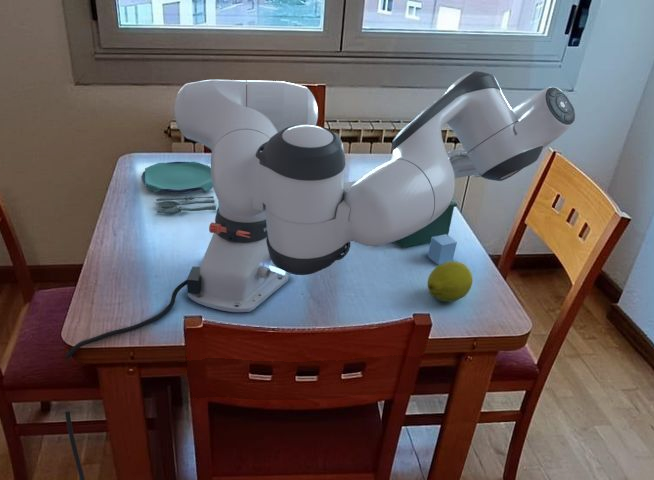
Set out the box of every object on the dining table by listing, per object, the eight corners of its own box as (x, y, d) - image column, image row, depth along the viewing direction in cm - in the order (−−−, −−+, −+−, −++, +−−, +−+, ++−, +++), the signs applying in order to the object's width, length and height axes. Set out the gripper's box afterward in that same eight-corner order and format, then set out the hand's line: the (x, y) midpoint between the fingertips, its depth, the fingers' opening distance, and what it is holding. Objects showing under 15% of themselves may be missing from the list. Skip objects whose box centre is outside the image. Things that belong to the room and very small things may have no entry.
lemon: (453, 283, 131) (461, 250, 126) (478, 302, 125) (487, 268, 120) (412, 294, 126) (418, 260, 122) (435, 314, 121) (443, 280, 116)
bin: (447, 239, 147) (454, 205, 142) (402, 248, 142) (408, 213, 137) (404, 206, 160) (409, 174, 155) (362, 214, 156) (366, 181, 151)
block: (452, 261, 138) (457, 242, 135) (438, 265, 137) (442, 245, 134) (442, 253, 141) (446, 234, 138) (427, 256, 139) (431, 236, 137)
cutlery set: (213, 166, 176) (212, 158, 175) (224, 213, 153) (224, 204, 151) (141, 169, 173) (140, 161, 171) (141, 217, 149) (140, 208, 148)
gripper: (460, 170, 112) (421, 198, 124) (546, 156, 119) (500, 184, 132) (450, 137, 112) (412, 168, 125) (536, 126, 120) (492, 156, 133)
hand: (458, 176), depth 129 cm, fingers open, 8 cm apart
